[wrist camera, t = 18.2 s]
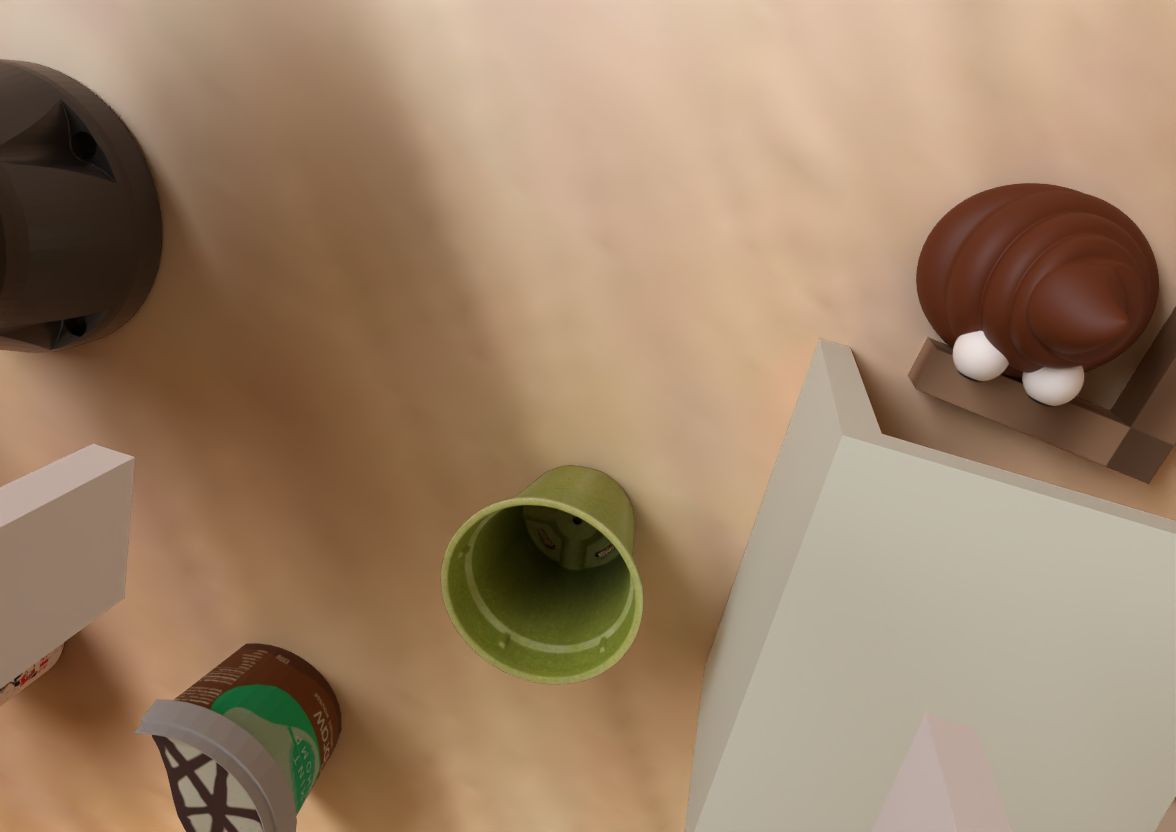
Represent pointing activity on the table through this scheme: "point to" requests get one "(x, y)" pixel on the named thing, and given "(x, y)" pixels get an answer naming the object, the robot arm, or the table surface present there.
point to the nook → (934, 636)
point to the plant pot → (548, 579)
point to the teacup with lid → (30, 675)
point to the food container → (246, 741)
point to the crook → (1074, 407)
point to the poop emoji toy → (1037, 286)
